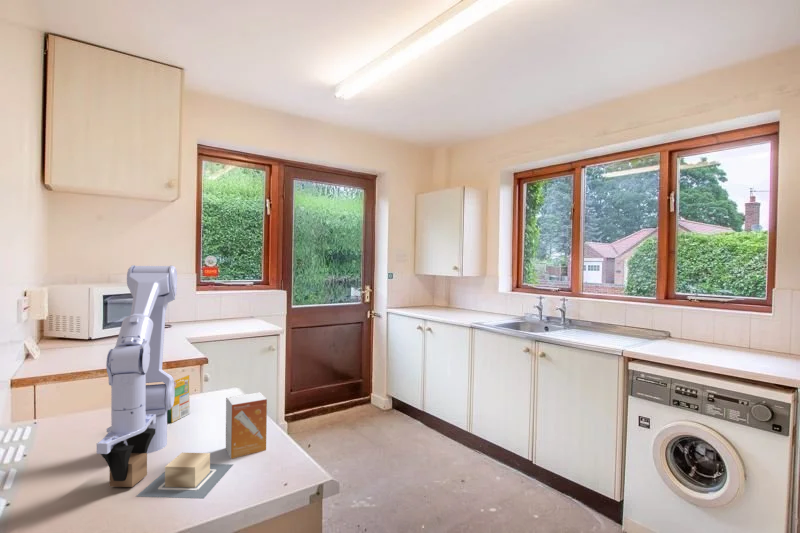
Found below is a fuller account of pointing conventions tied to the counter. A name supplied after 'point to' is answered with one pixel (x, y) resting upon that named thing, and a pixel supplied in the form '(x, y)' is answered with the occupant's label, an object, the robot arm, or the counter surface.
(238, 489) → the counter surface
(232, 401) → the small box
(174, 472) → the maple block
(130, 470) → the walnut block
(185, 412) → the crayon box
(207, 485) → the board
